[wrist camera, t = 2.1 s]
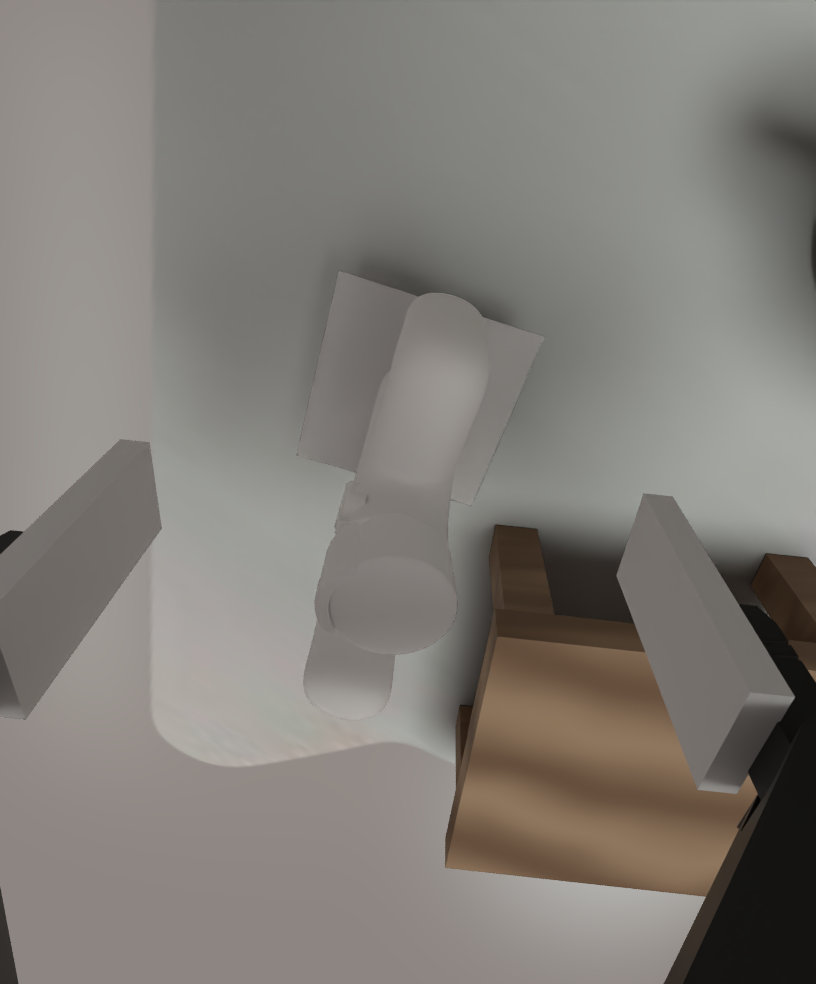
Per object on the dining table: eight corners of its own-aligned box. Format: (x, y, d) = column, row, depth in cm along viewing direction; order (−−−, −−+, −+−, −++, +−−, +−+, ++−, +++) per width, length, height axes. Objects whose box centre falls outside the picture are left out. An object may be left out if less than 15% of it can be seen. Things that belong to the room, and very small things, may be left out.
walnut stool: (486, 514, 29) (497, 636, 22) (823, 550, 29) (936, 683, 22) (446, 731, 38) (445, 867, 31) (707, 759, 37) (764, 903, 31)
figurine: (543, 280, 23) (653, 476, 11) (461, 482, 28) (470, 782, 16) (361, 219, 23) (245, 352, 10) (309, 437, 28) (186, 714, 15)
